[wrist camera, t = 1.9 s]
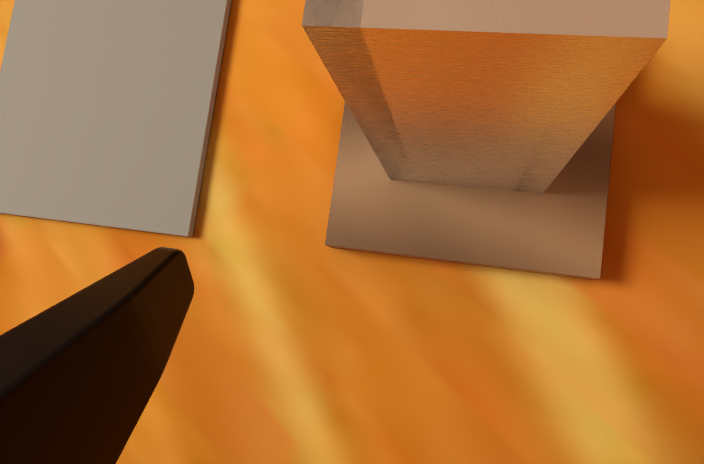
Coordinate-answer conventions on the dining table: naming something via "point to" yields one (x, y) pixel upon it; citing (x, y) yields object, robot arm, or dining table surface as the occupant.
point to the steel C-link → (482, 80)
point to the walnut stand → (474, 212)
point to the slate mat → (109, 110)
